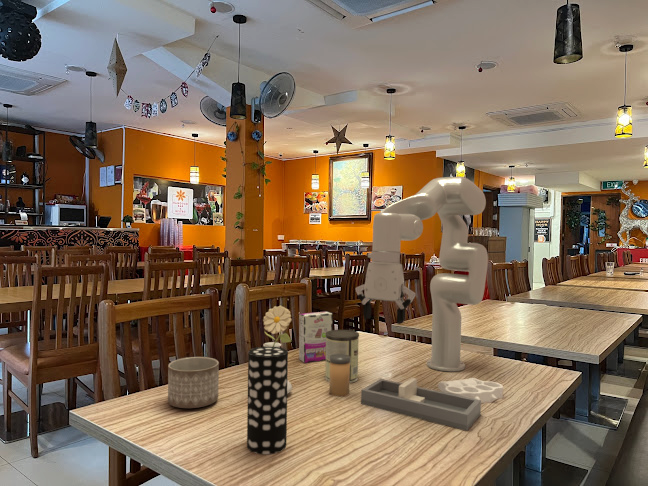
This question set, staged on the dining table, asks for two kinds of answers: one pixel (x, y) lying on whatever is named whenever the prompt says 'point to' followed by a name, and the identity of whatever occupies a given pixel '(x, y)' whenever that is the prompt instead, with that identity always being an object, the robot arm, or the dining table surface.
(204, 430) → the dining table surface
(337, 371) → the jar
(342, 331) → the coffee can
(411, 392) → the plate
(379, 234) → the robot arm
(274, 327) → the flower in vase
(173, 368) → the planter
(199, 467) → the dining table surface
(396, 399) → the grey rectangular tray
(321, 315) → the candy bar box
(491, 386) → the knuckle duster
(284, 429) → the white-spotted black cylinder
